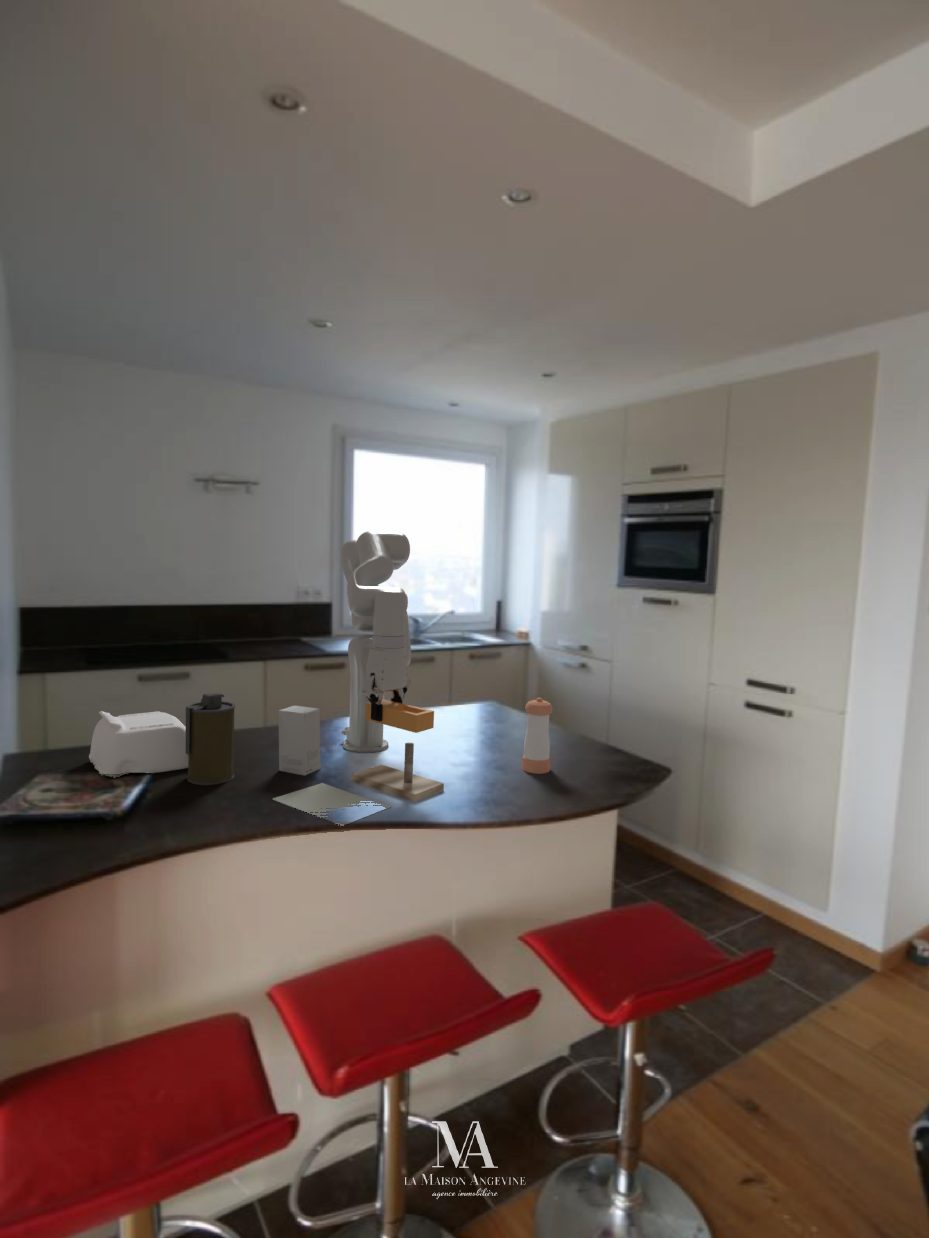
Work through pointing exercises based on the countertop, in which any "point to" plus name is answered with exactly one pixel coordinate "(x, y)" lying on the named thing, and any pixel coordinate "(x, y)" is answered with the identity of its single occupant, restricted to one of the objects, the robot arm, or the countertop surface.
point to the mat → (322, 799)
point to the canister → (210, 740)
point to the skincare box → (299, 740)
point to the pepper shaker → (537, 737)
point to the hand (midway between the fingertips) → (386, 717)
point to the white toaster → (138, 743)
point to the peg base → (399, 779)
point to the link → (403, 716)
